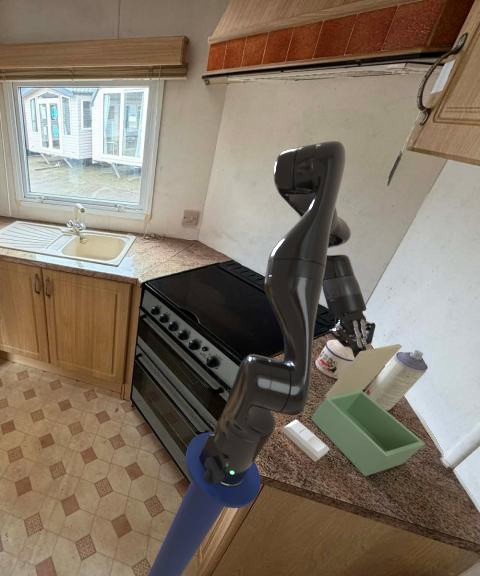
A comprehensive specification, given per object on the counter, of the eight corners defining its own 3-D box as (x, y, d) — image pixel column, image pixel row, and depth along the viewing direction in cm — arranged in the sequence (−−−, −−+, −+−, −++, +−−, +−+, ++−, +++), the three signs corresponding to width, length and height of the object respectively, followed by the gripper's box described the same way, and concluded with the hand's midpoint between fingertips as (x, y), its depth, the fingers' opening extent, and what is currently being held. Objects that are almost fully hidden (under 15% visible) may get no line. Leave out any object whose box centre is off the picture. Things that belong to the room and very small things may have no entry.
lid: (402, 346, 74) (398, 343, 74) (363, 353, 70) (360, 351, 71) (363, 389, 83) (360, 387, 84) (327, 398, 80) (324, 395, 80)
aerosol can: (384, 395, 94) (427, 347, 83) (395, 414, 88) (442, 365, 77) (359, 389, 95) (397, 340, 84) (368, 406, 90) (410, 357, 79)
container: (402, 463, 76) (425, 443, 71) (364, 476, 72) (386, 456, 68) (345, 409, 88) (361, 389, 83) (310, 418, 85) (325, 398, 80)
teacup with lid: (307, 360, 104) (323, 334, 98) (329, 357, 106) (346, 332, 100) (337, 388, 95) (357, 362, 88) (361, 385, 96) (382, 359, 90)
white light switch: (292, 423, 83) (296, 417, 82) (326, 453, 77) (331, 447, 75) (281, 430, 81) (285, 424, 80) (315, 462, 75) (319, 456, 73)
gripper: (347, 295, 85) (366, 359, 82) (309, 300, 82) (328, 367, 78) (377, 289, 78) (399, 359, 75) (337, 294, 74) (359, 367, 71)
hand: (363, 363), depth 76 cm, fingers closed
